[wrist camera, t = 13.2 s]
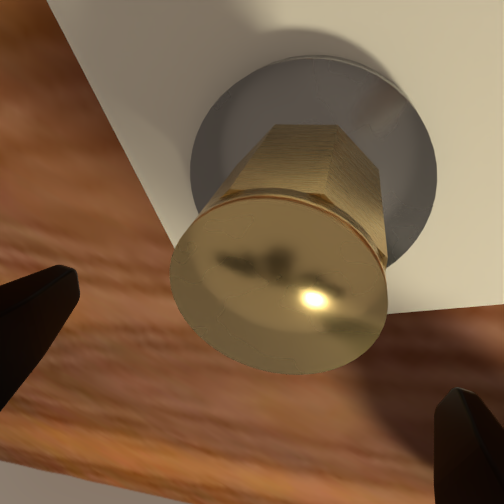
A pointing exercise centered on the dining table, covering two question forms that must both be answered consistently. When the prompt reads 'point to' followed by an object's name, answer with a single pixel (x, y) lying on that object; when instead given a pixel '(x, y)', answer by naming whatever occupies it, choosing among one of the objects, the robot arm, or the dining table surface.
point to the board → (316, 43)
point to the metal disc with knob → (326, 113)
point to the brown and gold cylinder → (289, 255)
